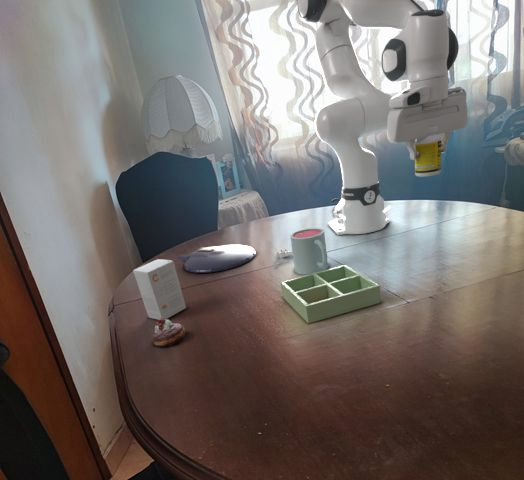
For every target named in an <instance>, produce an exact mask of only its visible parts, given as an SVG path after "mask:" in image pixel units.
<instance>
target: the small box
mask: <svg viewBox="0 0 524 480" xmlns="http://www.w3.org/2000/svg"><path fill="white" fill-rule="evenodd" d="M132 271H133V275H134V278H135V280H136V281H135V282H136V284H137V287H138V290H139V292H140V296H141V299H142V302H143V304H144V305H143V306H144V308H145V310H146V313H147V317H148V318H150V319H154V320H157V321H159V320H160V319H161V318H162V317H164V318H165V319H166V320H168V319H169V318H171V317H172V316H174V315H176V314H178V313H180V312H182V311H183V310H185V309H187V306H186V301H185V299H184V295H183V292H182V288H181V284H180V280H179V277H178V273H177V270H176V266H175V263H174V260H170V259H162V258H161V259H160V258H157V259H155V260H153V261H151V262H148V263H146V264H143V265H142V266H139V267H137V268H135V269H133V270H132Z"/></svg>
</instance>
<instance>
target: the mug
mask: <svg viewBox="0 0 524 480" xmlns="http://www.w3.org/2000/svg"><path fill="white" fill-rule="evenodd" d="M325 235H326V234H325V229H323V228H320V227H310V228H303V229H300V230H297V231H294V232H292V233H291V234H289V239H290V245H291V251H292V253H293V256H292V260H293V267H294V272H295V274H298V275H309V274H313V273H317V272H320V271H324V270H328V269H329V268H328V267H329V264H328V252H327V244H326V236H325Z"/></svg>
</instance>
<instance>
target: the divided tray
mask: <svg viewBox="0 0 524 480" xmlns="http://www.w3.org/2000/svg"><path fill="white" fill-rule="evenodd" d="M280 287H281V294H282V298H283V299H284V300H285V301H286V302H287V303H288V304H289V305H290V307H292V309H294V310H295V311H296V313H298V314H299V316H300V317H301V318H302V319H303V320H304V321H305V322H307V324H313V323H315V322H318V321H322V320H326V319H329V318H332V317H333V318H334V317H337V316H339V315H342V314H345V313H350V312H353V311H356V310H360V309H363V308H367V307H371V306H373V305H374V306H375V305H377V304H380V303H382V300H381V299H382V298H381V297H382V295H381V285H380V284H378V283H377V282H375V281H373V280H371V279H370V278H369V277H367V276H365V275H363V274H361V273H360V272H358V271H357V270H356V269H354V268H352V267H350V266H349V265H347V264H343V265H342V264H341V265H339V266H336V267H332V268H327V269H326V270H324V271H320V272H317V273H313V274H304V275H302V276H298V277H295V278H291V279H287V280H283V281H280Z"/></svg>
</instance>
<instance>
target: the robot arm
mask: <svg viewBox="0 0 524 480" xmlns="http://www.w3.org/2000/svg"><path fill="white" fill-rule="evenodd" d="M296 4H297V10H298V14H299V17H300V18H301V21H303V22H304V23H307V24H311V25H316V24H318V23H319V24H320V25H319V26H318V27H317V29H316V31H315V33H314V47H315V53H316V58H317V63H318V66H319V69H320V73H321V75H322V77H323V78H322V79H323V81H324V85H325V88H326V90H327V92H328V93H329V94H330V95H332V96H334V97H336V98H338V99H340V100H338V101H333V102H331V103H328V104H326V105H324V106H322V107H320V108H319V109H318V111H317V113H316V115H315V119H314V130H315V133H316V135H317V137H318V138H319V139H320V140H321V141H322V142H323V143H325V144H327V145H328V146H329V147H330V148H331V149H332V150H333V151H334V153H335V154H336V156H337V158H338V162H339V164H340V171H341V178H342V187H340V189H341V196H340V198H341V199H340V198H339V197H335V198H333V199H332V200H331V202H332V203H334V202H335V201H338V203H337V205H336V206H334V207H333V208H332V213H331V214H332V218H333V219H332V220H331V221H329V222H328V226H329V227H330V229H332V231H333V232H335V233H336V234H337V235H338V236H339V235H340V236H342V235H363V234H364V235H365V234H370V233H373V232H377V231H380V230H383V229H384V228H386V226H387V224H388V223H390V218H387V217H386V216H387V215H386V212H387V211H389V210H390V209H391V206H390V205H388V206H387V207H386V206H385V199H384V197H383V196H381V195H380V194H381V183H380V181H379V169H378V158H377V156H376V155H375V154H374V153H373V152H372V151H370V150H368V149H367V148H363V147H362V146H361V142H360V138H363V137H368V136H372V135H377V134H380V133H382V132H385V131H386V137H387V140H388V141H389V143H390V144H403V143H405V147H406V148H407V150H408V152H409V159H410V160H412V161H415V159H419V151H416V150H415V140H416V139H419V138H424V137H427V136H429V134H428V128H430V127H434V126H438V131H437V132H436V134H438V135H439V136H440V137H441V154H444V153H446V152H447V145H448V143H449V140H450V139H451V132H455V131H458V130H463V129H466V127H467V125H468V122H469V114H468V103H467V91H466V90H465V89H464V88H462V87H461V86H456V87H453V88H449V71H450V69H451V68H452V67H453V66H454V64H455V62H456V60H457V57H458V54H459V49H460V47H459V46H460V45H459V40H458V38H457V35H456V33H455V32H454V31H453V29H452V28H451V27H449V22H448V17H447V13H446V11H444V10H442V9H439V8H436V9H423V8H422V6H421V5H419V3H417V1H415V0H297V2H296ZM357 26H358V27H360V28H364V29H393V30H398V31H400V32H399V33H398V34H397V35H396V36H394V37H393V38H391V39H389V40H388V41H387V43H386V44H385V45H384V48H383V50H382V53H381V70H382V73H383V75H384V76H385V77H386V79H387V80H389V81H390V82H392V83H393V82H395V83H400V82H406V81H407V87H406V88H405V89H403V90H402V91H401V92H399V93H397V94H395V95H394V96H393V95H392V94H390V93H387V92H385V91H383V90H381V89H379V88H378V87H377V86H375V85H374V84H373V83H372V82H371V80H369V78H368V77H367V76H366V74H365V73H364V71H363V69H362V66H361V64H360V61H359V58H358V56H357V54H356V50H355V47H354V44H353V41H352V38H351V35H350V27H353V28H354V27H357Z"/></svg>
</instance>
